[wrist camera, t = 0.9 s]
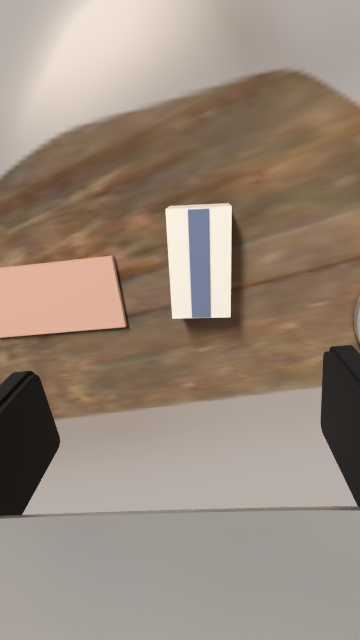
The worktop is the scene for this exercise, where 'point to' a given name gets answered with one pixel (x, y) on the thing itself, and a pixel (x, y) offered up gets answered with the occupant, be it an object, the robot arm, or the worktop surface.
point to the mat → (60, 297)
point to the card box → (200, 260)
